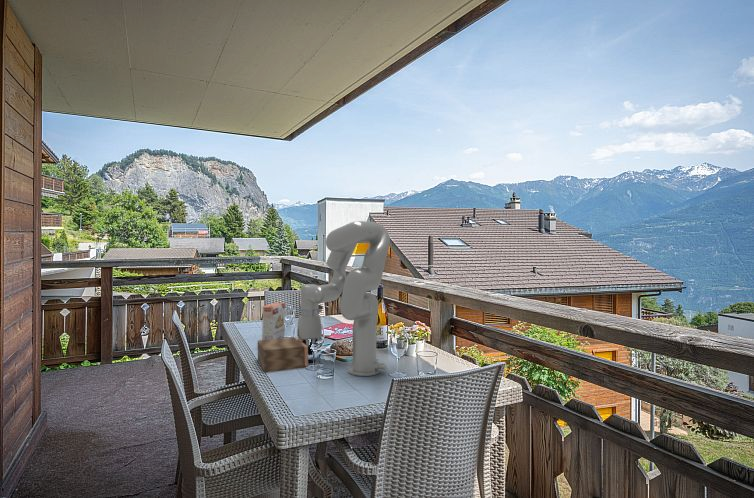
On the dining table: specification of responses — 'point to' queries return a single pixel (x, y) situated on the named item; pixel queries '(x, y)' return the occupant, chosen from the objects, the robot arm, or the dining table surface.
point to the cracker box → (273, 321)
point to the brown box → (280, 354)
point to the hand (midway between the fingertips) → (309, 354)
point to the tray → (305, 353)
